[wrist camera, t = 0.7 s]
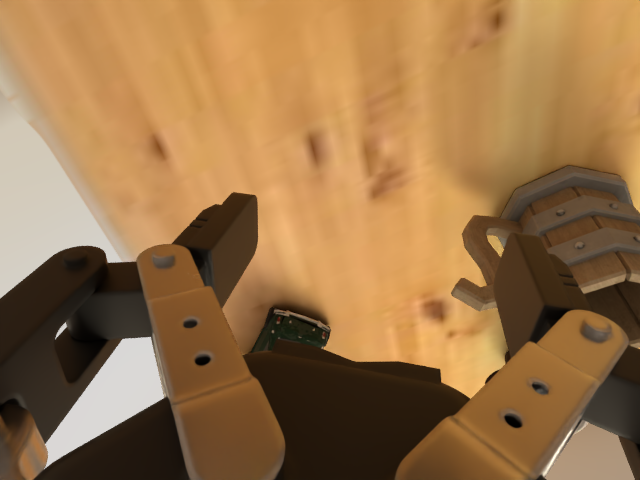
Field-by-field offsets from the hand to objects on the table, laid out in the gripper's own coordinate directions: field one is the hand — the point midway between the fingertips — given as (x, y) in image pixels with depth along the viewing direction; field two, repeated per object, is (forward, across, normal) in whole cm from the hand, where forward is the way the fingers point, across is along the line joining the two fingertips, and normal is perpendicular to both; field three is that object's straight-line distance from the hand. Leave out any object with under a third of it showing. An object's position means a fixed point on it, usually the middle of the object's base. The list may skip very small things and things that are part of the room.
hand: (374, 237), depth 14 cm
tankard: (+33, -16, +13) cm, 39 cm away
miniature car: (+34, +11, +40) cm, 54 cm away
